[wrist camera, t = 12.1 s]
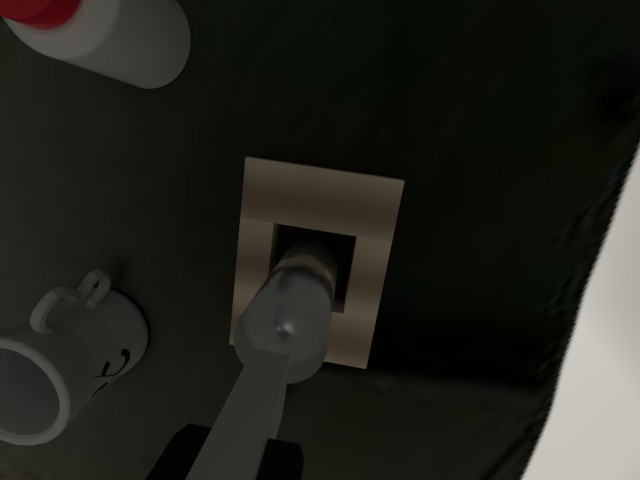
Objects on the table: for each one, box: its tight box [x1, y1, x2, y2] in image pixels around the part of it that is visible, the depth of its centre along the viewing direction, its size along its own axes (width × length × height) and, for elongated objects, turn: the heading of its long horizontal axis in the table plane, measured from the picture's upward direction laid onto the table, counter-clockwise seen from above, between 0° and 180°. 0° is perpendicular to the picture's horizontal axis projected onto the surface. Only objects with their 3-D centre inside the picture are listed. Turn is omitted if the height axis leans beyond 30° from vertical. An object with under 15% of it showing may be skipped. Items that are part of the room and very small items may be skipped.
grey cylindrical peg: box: [234, 234, 339, 384], centre depth 23 cm, size 5×5×14 cm
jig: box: [230, 157, 404, 369], centre depth 28 cm, size 16×12×3 cm
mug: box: [0, 269, 148, 445], centre depth 28 cm, size 12×9×10 cm
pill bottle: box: [0, 0, 191, 89], centre depth 21 cm, size 8×8×11 cm
